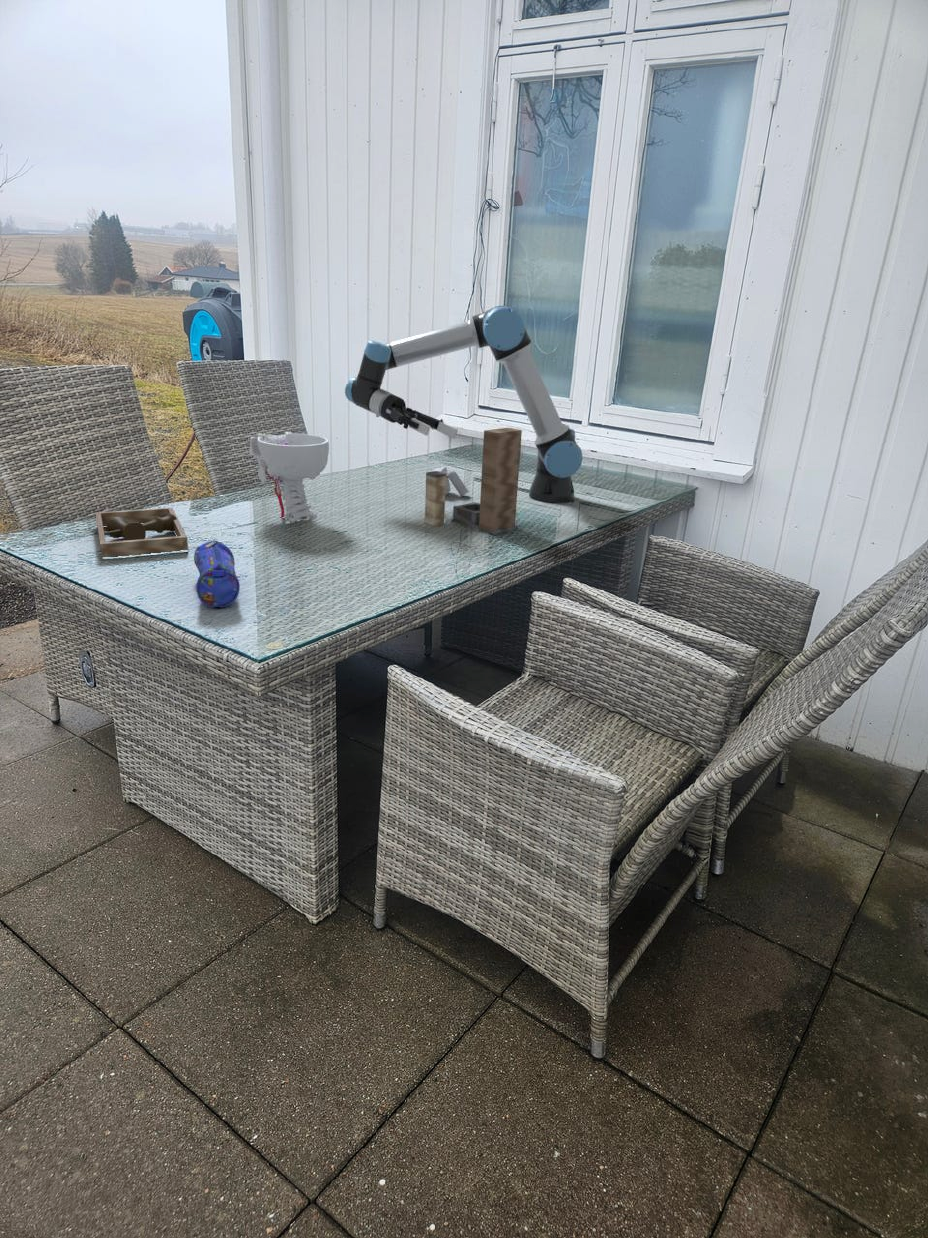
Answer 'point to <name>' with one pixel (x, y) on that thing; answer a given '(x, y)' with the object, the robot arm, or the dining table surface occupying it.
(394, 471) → the dining table surface
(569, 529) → the dining table surface
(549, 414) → the robot arm
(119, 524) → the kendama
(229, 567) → the pencil case
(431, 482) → the beige wooden tall block
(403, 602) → the dining table surface
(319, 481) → the dining table surface
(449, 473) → the wall hook
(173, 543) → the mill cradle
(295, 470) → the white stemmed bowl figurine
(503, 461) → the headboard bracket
